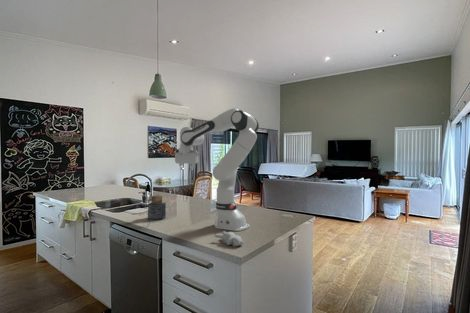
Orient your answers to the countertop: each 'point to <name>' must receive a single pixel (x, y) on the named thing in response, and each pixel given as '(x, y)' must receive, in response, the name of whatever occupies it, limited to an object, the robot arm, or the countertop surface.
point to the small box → (157, 211)
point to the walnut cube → (156, 199)
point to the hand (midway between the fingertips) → (187, 169)
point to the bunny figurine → (230, 238)
